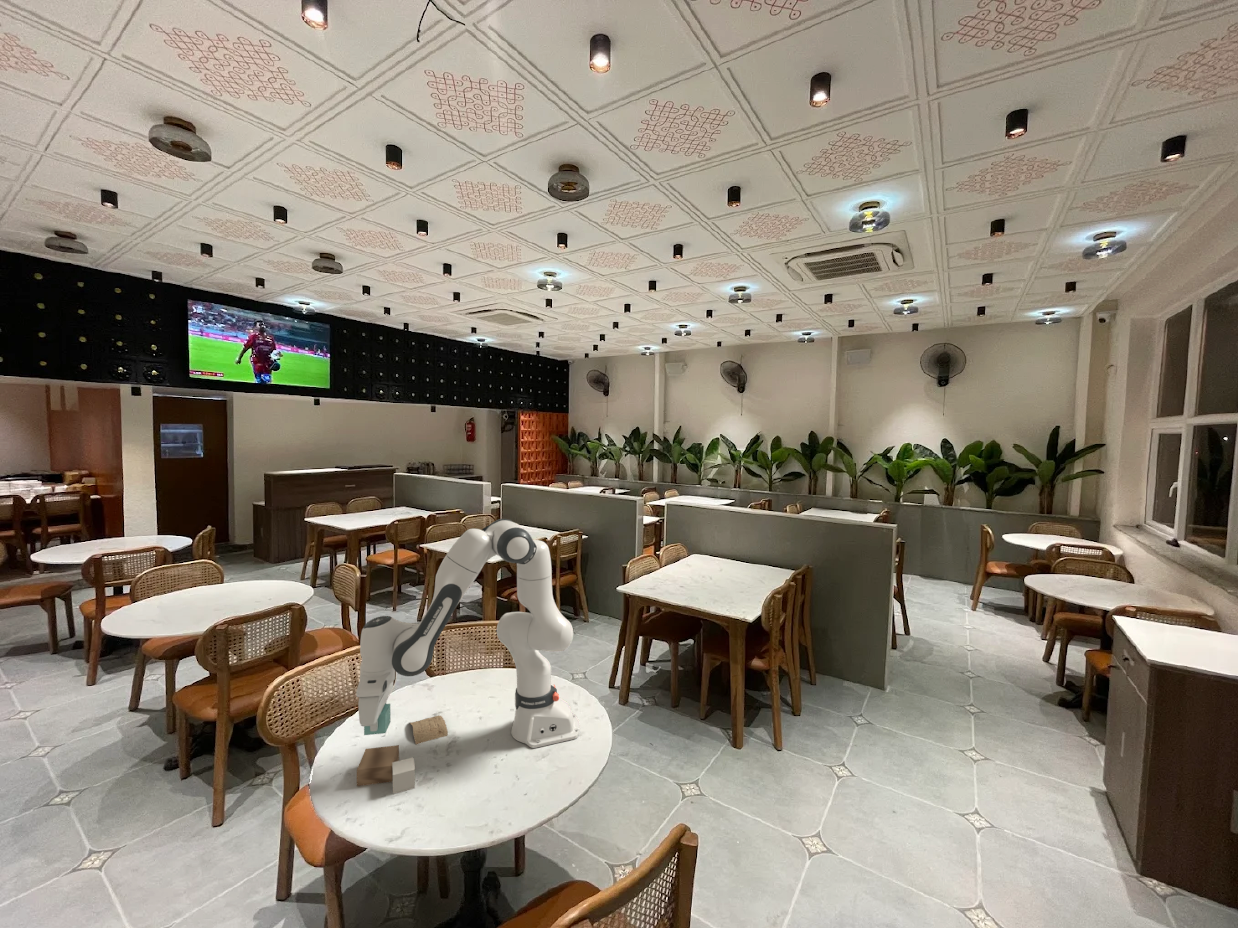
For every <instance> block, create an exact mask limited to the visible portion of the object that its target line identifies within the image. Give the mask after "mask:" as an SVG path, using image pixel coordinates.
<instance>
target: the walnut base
mask: <svg viewBox="0 0 1238 928" xmlns="http://www.w3.org/2000/svg"><path fill="white" fill-rule="evenodd" d="M396 761H400V744H398V745H389V746H380V747H371V748H365V750H364V752H363V754H362V757H361V759H360V761H359V763H358V765H357V767H356V787H362V786H370V785H378V784H384V783H385V784H387V783H392V762H396Z"/></svg>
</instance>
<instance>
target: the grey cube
mask: <svg viewBox="0 0 1238 928" xmlns="http://www.w3.org/2000/svg"><path fill="white" fill-rule="evenodd" d="M415 765H416V764H415V758H414V756H412V757H409V758H405V759H401V760H400V759H399V761H396V762H392V782H391V783H392V795H395V794H400V793H403V792H407V791H410V790H413V789H416V767H415Z"/></svg>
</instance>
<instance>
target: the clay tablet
mask: <svg viewBox="0 0 1238 928" xmlns="http://www.w3.org/2000/svg"><path fill="white" fill-rule="evenodd" d="M409 724H410V725H411V726H412V734H413V737H414V738H413V740H414V742H415V745H416V746H417V745H419V744H422V743H425V742H428V741H429V742H430V741H432V740H436V739H440V738H444V737H448V733H449V731H448V728H447V724H446V721H445V719H444V717H443V716H442V715H434V716H431V717H428V718H424V719H421V720H416V721H412V722H409Z"/></svg>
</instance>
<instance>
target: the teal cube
mask: <svg viewBox="0 0 1238 928" xmlns="http://www.w3.org/2000/svg"><path fill="white" fill-rule="evenodd" d="M377 720H378V722H379V725H378V726H379V727H378V729H377V731H370V726H363V736H371V735H381V734H386V733H387V730H388V728H389V726H390V724H391V703H386V704H385V705H384V707H383V709H382V711H381V713H380V715H379V717H378V719H377Z"/></svg>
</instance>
